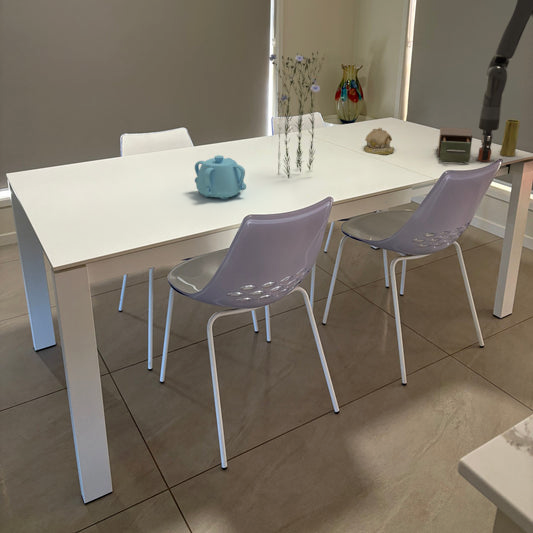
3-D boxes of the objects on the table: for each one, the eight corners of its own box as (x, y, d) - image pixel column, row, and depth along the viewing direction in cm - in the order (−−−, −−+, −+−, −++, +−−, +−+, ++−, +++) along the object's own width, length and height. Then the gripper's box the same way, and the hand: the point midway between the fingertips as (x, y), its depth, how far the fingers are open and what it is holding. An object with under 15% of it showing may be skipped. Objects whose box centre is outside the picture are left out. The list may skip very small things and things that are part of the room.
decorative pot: (200, 204, 197) (198, 164, 191) (194, 189, 211) (191, 152, 205) (248, 199, 200) (247, 160, 194) (238, 185, 214) (237, 148, 208)
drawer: (469, 165, 232) (472, 145, 229) (439, 163, 235) (441, 144, 232) (467, 154, 248) (470, 135, 244) (439, 152, 250) (441, 134, 247)
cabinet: (469, 159, 244) (472, 135, 240) (437, 157, 247) (440, 134, 243) (467, 150, 256) (470, 128, 252) (437, 148, 259) (440, 127, 255)
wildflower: (310, 164, 238) (312, 46, 219) (335, 180, 219) (340, 52, 199) (258, 170, 231) (256, 49, 212) (279, 187, 212) (279, 55, 192)
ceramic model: (358, 150, 259) (359, 127, 255) (374, 145, 265) (376, 123, 261) (383, 156, 249) (385, 132, 245) (399, 151, 256) (401, 128, 252)
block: (477, 157, 245) (479, 147, 243) (489, 158, 244) (490, 148, 242) (478, 160, 241) (480, 150, 239) (489, 161, 240) (491, 150, 238)
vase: (499, 155, 248) (505, 121, 242) (499, 152, 253) (505, 118, 247) (515, 157, 246) (521, 122, 240) (515, 153, 251) (521, 119, 245)
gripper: (501, 121, 228) (494, 162, 235) (498, 113, 241) (492, 153, 248) (481, 120, 230) (475, 161, 237) (479, 113, 242) (473, 152, 250)
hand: (483, 157), depth 242 cm, fingers open, 7 cm apart
